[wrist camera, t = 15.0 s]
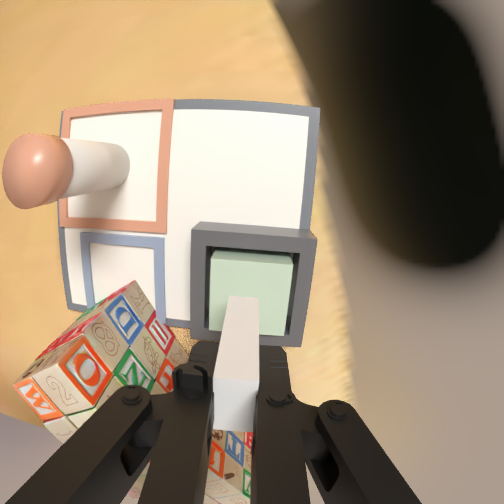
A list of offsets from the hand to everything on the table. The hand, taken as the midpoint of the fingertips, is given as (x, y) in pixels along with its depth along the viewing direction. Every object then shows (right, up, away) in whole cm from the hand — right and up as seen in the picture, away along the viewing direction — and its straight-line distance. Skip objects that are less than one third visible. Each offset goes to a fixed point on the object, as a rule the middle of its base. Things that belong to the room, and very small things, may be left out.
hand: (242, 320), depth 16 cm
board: (-6, +6, +7) cm, 11 cm away
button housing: (0, +2, +8) cm, 8 cm away
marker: (-10, +10, +5) cm, 15 cm away
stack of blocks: (-6, -9, +11) cm, 16 cm away
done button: (0, +1, +6) cm, 6 cm away
